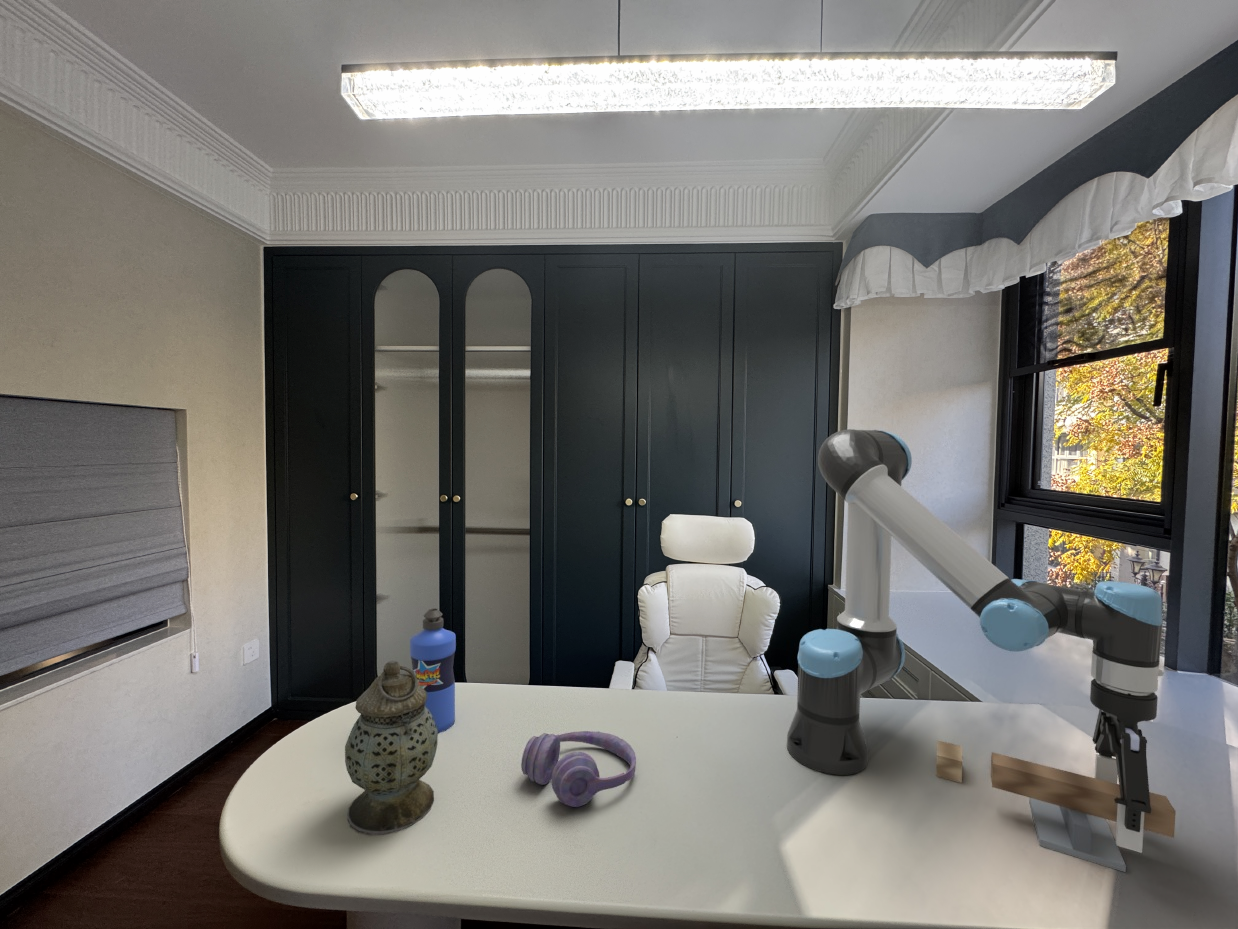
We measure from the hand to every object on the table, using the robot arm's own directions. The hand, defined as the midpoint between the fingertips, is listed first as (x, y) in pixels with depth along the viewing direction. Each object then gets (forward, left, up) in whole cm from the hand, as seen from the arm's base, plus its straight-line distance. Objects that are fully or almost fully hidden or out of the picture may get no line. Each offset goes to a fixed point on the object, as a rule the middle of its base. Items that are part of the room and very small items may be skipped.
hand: (1115, 820), depth 85 cm
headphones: (-80, -29, -5) cm, 85 cm away
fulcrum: (-5, 0, -4) cm, 7 cm away
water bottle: (-118, -31, -4) cm, 122 cm away
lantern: (-102, -53, -4) cm, 115 cm away
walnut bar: (-5, 0, +1) cm, 5 cm away
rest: (-22, +9, -4) cm, 24 cm away
